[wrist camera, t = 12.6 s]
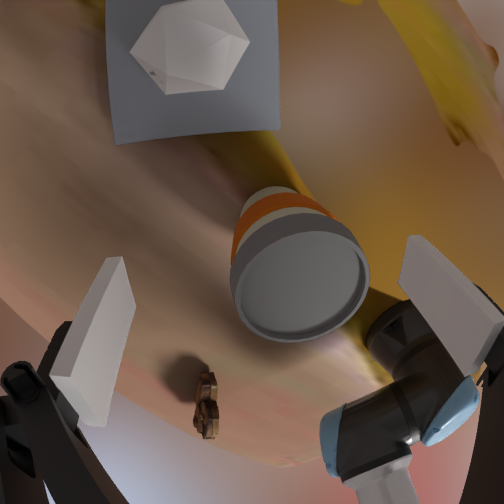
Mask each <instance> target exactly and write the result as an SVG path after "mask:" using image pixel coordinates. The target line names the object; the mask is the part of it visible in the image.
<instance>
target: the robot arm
mask: <svg viewBox="0 0 504 504" xmlns="http://www.w3.org/2000/svg"><path fill="white" fill-rule="evenodd" d="M398 284H399V285H400V287H401V288H402V289H403V291H404V292H405V293H406V295H407V296H408V297H409V298H410V299H409V300H405V301H403V302H401V303H398V304H397V305H395V306H393V307H392V308H390V309H389V310H387V311H386V312H385V313H384V314H383V315H381V316H380V317H379V318H378V320H377V321H376V322H375V323H374V324H373V326H372V327H371V329H370V331H369V333H368V336H367V340H366V345H367V348H368V351H369V353H370V355H371V356H372V358H373V359H374V360H375V361H377V362H378V363H379V364H380V365H381V366H382V367H383V368H384V369H385V370H386V371H387V372H388V373H390V374H391V376H392V377H393V379H394V381H395V382H393V383H391V384H389V385H387V386H385V387H383V388H381V389H379V390H377V391H375V392H372V393H370V394H368V395H366V396H364V397H362V398H359V399H357V400H355V401H352V402H350V403H348V404H347V403H345V404H343V405H342V406H341V407H339V408H337V409H335V410H332V411H330V412H328V413H326V414H325V415H324V416H323V418H322V420H321V422H320V444H321V450H322V456H323V460H324V462H325V464H326V469H327V471H328V473H329V475H330V476H332V477H341V480H342V483H343V485H344V486H347V487H349V488H352V489H353V490H355V492H356V495H357V498H358V502H359V504H420V503H419V500H418V497H417V494H416V491H415V488H414V486H413V483H412V480H411V478H410V475H409V472H408V465H409V463H410V461H411V459H412V456H413V455H412V453H411V450H410V448H409V447H410V446H411V445H413V444H415V443H417V442H419V441H422V444H424V445H425V446H431V445H433V444H435V443H438V442H440V441H441V440H443V439H444V438H446V437H447V436H449V435H450V434H451V433H452V432H454V431H455V430H456V429H457V428H459V427H460V426H461V425H462V424H463V423H464V422H465V421H466V420H467V419H468V418H469V417H470V415H471V414H472V413H473V412H474V410H475V409H476V407H477V406H478V403H479V400H480V394H479V391H478V389H477V387H476V386H475V384H474V382H473V378H472V376H470V375H471V374H473V373H475V372H477V371H478V370H479V368H480V367H481V365H482V363H483V362H485V363H486V364H487V367H486V369H485V371H484V372H483V374H482V375H481V377H480V378H479V380H478V381H477V384H476V385H477V386H478V385H479V384H480V382H481V381H482V380H483V384H482V386H481V387H483V392H482V400H481V408H480V415H479V422H478V429H477V434H476V440H475V445H474V450H473V454H472V459H471V463H470V467H469V471H468V475H467V479H466V483H465V486H464V489H463V493H462V496H461V499H460V503H459V504H504V312H503V311H502V310H501V309H500V307H499V306H498V305H497V304H496V303H495V302H493V300H492V299H491V298H490V297H488V295H487V294H486V293H485V292H484V291H483V290H482V289H481V288H480V287H479V286H477V285H475V284H474V283H472V282H471V281H470V280H469V279H468V278H467V277H466V276H465V275H464V274H463V273H461V271H460V270H459V269H458V268H457V267H456V266H454V265H453V264H452V263H451V262H450V261H449V260H448V259H447V258H446V257H445V256H444V255H443V254H442V253H440V251H438V250H437V249H436V248H435V247H434V246H433V245H432V244H431V243H429V242H428V241H427V240H426V239H425V238H424V237H423V236H422V235H411V236H409V237H408V241H407V246H406V250H405V255H404V260H403V264H402V268H401V272H400V276H399V280H398ZM135 309H136V304H135V300H134V297H133V294H132V290H131V287H130V283H129V279H128V276H127V272H126V268H125V265H124V261H123V257H122V256H120V257H107V258H106V260H105V261H104V263H103V265H102V267H101V268H100V270H99V272H98V274H97V276H96V278H95V279H94V281H93V283H92V285H91V287H90V289H89V291H88V292H87V294H86V296H85V298H84V300H83V302H82V304H81V306H80V308H79V310H78V312H77V314H76V316H75V318H74V320H73V321H65V322H64V323H63V324H62V325H61V326H60V327H59V328H58V329H57V330H56V332H55V334H54V336H53V338H52V340H51V342H50V344H49V346H48V348H47V349H48V350H46V352H45V354H44V356H43V359H42V361H41V363H40V365H39V367H38V370H37V372H36V371H35V370H34V368H33V367H32V365H31V364H30V363H28V362H26V361H18V362H15V363H13V364H11V365H10V366H9V367H7V369H6V370H5V371H4V372H3V374H2V376H1V379H0V380H1V381H0V382H1V384H0V385H1V387H2V388H3V389H4V390H5V392H6V393H7V394H8V395H7V396H0V504H49V501H48V498H47V493H46V489H45V485H44V482H45V484H46V486H47V488H48V490H49V492H50V494H51V496H52V497H53V500H54V501H55V503H56V504H129V503H128V502H127V500H126V499H125V497H124V496H123V495H122V493H121V492H120V491H119V489H118V488H117V487H116V485H115V484H114V482H113V481H112V480H111V478H110V477H109V475H108V474H107V472H106V471H105V469H104V468H103V466H102V465H101V463H100V462H99V460H98V459H97V457H96V455H95V454H94V452H93V451H92V449H91V447H90V446H89V444H88V442H87V441H86V439H85V437H84V435H83V434H82V432H81V430H80V429H79V428H78V427H77V423H78V419H79V417H80V418H81V420H82V421H83V422H84V423H85V424H86V425H88V426H96V427H106V422H107V417H108V413H109V408H110V404H111V399H112V395H113V391H114V386H115V382H116V378H117V374H118V370H119V366H120V362H121V359H122V355H123V351H124V347H125V344H126V340H127V337H128V333H129V330H130V326H131V323H132V319H133V316H134V313H135ZM43 480H44V481H43Z"/></svg>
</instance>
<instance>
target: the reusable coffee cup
mask: <svg viewBox="0 0 504 504" xmlns="http://www.w3.org/2000/svg"><path fill="white" fill-rule="evenodd" d="M369 281H370V270H369V265H368V262H367V259H366V257H365V255H364V253H363V251H362V249H361V247H360V246H359V244H358V242H357V240H356V239H355V237H354V236H353V234H352V233H351V231H350V230H349V229H348V228H346V227H345V226H344V225H343V224H342V223H340V222H339V221H338V220H337V218H335V217H334V216H333V215H332V214H331V213H330V212H328V211H327V210H326V209H325V208H323V207H322V206H321V205H319V204H318V203H317V202H315V201H314V200H312V199H310V198H308V197H307V196H304V195H301V194H299V193H297V192H296V191H294V190H292V189H290V188H286V187H281V186H273V187H268V188H264V189H262V190H260V191H258V192H256V193H255V194H253V195H252V196H251V197H250V198H249V199H248V200H247V201H246V203H245V204H244V206H243V208H242V211H241V214H240V219H239V221H238V223H237V225H236V229H235V232H234V238H233V246H232V254H231V270H230V285H231V291H232V295H233V298H234V302H235V306H236V309H237V312H238V314H239V316H240V318H241V320H242V321H243V323H244V324H245V325H246V326H247V328H249V329H250V330H251V331H253V332H254V333H255V334H257V335H259V336H261V337H263V338H265V339H268V340H272V341H276V342H284V343H296V342H304V341H309V340H313V339H316V338H319V337H322V336H324V335H326V334H328V333H330V332H332V331H334V330H336V329H337V328H339V327H340V326H342V325H343V324H344V323H345V322H346V321H348V320H349V319H350V318H351V317H352V316H353V315H354V313H355V312H356V311H357V310H358V309H359V307H360V306H361V304H362V302H363V301H364V299H365V296H366V294H367V291H368V288H369Z"/></svg>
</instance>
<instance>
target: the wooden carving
mask: <svg viewBox="0 0 504 504" xmlns="http://www.w3.org/2000/svg"><path fill="white" fill-rule="evenodd" d="M216 400H217V381H216V379H215V375H214V373H213V372H209V373H201V379H199V384H198V387H197V390H196V409H195V415H194V418H193V424H194V427H195V428H197V432H198V433H201V434H202V436H203V439H215V437H216V436H217V435H218V430H219V410H218V406H217V403H216Z"/></svg>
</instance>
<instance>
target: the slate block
mask: <svg viewBox="0 0 504 504" xmlns="http://www.w3.org/2000/svg"><path fill="white" fill-rule="evenodd" d="M182 1H186V0H105V33H106V59H107V75H108V88H109V99H110V109H111V118H112V126H113V134H114V141H115V146H116V145H121V144H127V143H134V142H140V141H147V140H154V139H162V138H170V137H179V136H188V135H198V134H209V133H222V132H238V131H258V130H280V78H279V77H280V76H279V40H278V12H277V0H224V2H225V3H226V5H227V6H228V8H229V9H230V11H231V12H232V14H233V15H234V17H235V18H236V20H237V22H238V23H239V25H240V26H241V28H242V30H243V31H244V33H245V34H246V36H247V38H248V39H249V41H250V43H249V45H248V47H247V48H246V50H245V52H244V53H243V55H242V57H241V59H240V60H239V62H238V64H237V66H236V67H235V69H234V71H233V73H232V75H231V76H230V78H229V80H228V82H227V84H226V86H225V88H224V89H223V90H209V91H197V92H186V93H177V94H168V95H165V93H164V92H163V91H162V90H161V89H160V87H159V86H158V85H157V84H156V83H155V81H154V80H153V79H152V78H151V77H150V76H149V74H148V73H147V72H146V71H145V70H144V68H143V67H142V66H141V65H140V64H139V63H138V61H137V60H136V59H135V58H134V57H133V56H132V54H131V53H130V51H131V49H132V48H133V46H134V44H135V43H136V41H137V40H138V38H139V37H140V35H141V34H142V32H143V31H144V30H145V28H146V27H147V25H148V24H149V22H150V21H151V20H152V18H153V17H154V15H155V14H156V13H157V11H158V10H159V9H160V7H161V6H164V5H168V4H173V3H177V2H182Z"/></svg>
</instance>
